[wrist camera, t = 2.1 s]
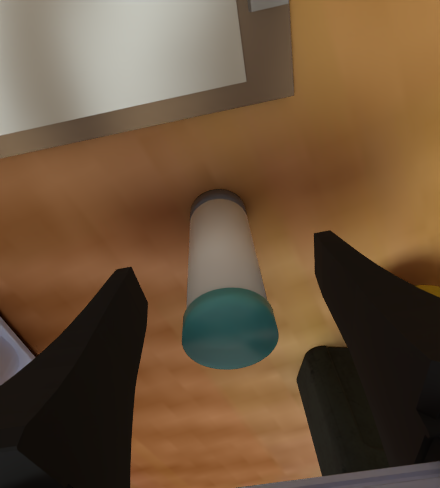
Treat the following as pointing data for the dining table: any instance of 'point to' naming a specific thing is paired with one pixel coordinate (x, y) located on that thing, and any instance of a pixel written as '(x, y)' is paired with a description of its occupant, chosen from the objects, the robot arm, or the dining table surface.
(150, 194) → the dining table surface
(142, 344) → the robot arm
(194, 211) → the marker
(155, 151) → the dining table surface
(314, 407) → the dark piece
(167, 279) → the dining table surface
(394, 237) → the dining table surface
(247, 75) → the clipboard
